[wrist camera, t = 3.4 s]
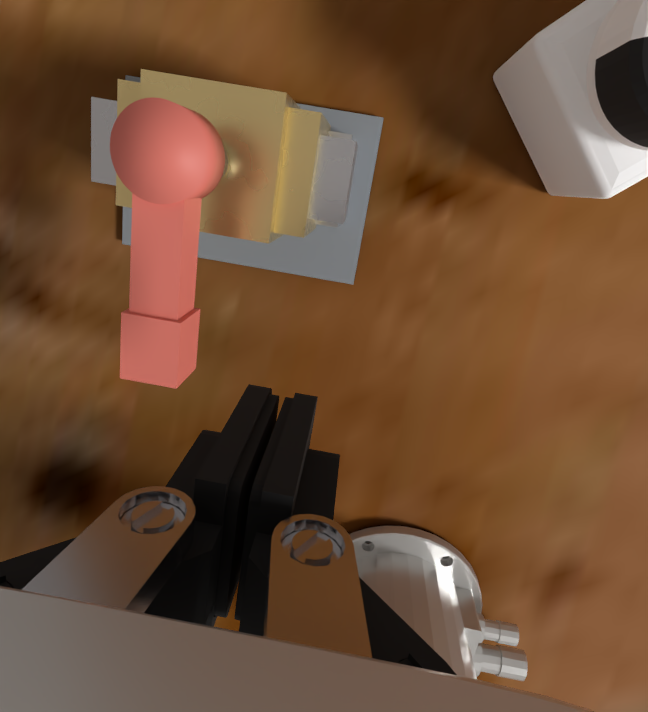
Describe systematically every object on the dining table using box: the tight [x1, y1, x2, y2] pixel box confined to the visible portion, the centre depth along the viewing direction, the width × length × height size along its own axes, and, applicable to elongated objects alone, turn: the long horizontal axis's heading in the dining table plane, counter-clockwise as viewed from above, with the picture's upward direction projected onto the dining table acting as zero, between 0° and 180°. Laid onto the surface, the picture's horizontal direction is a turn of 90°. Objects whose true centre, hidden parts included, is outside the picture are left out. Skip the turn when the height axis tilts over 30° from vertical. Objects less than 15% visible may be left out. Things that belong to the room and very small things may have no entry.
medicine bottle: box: [493, 0, 648, 199], centre depth 20 cm, size 7×7×12 cm
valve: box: [91, 69, 358, 244], centre depth 23 cm, size 12×6×10 cm, turn 82°
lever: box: [110, 97, 225, 389], centre depth 18 cm, size 3×10×2 cm, turn 172°
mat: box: [122, 75, 383, 284], centre depth 28 cm, size 14×9×1 cm, turn 82°
